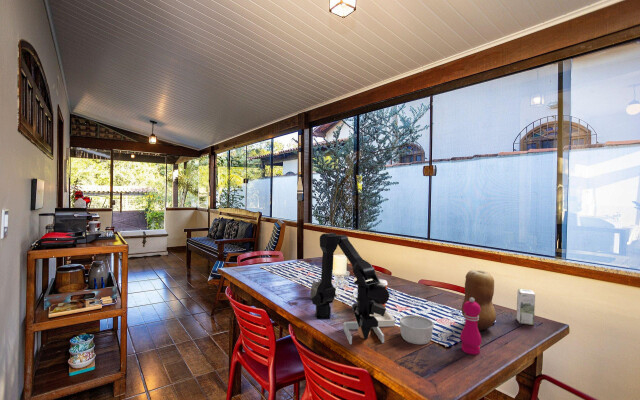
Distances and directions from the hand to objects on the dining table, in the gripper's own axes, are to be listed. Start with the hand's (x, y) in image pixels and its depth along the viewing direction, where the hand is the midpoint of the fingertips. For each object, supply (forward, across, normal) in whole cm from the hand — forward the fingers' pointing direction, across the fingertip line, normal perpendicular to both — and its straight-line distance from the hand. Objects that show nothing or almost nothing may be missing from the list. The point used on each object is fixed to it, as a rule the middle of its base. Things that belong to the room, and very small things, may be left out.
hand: (363, 335), depth 128 cm
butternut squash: (+1, +5, -52) cm, 52 cm away
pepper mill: (+1, -13, -37) cm, 40 cm away
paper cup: (+1, +31, -16) cm, 35 cm away
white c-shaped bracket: (+1, +2, 0) cm, 2 cm away
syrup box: (+1, +9, -78) cm, 79 cm away
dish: (+1, +15, -11) cm, 19 cm away
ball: (+1, 0, 0) cm, 1 cm away
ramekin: (+1, -2, -21) cm, 21 cm away
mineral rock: (+1, +47, +11) cm, 48 cm away
